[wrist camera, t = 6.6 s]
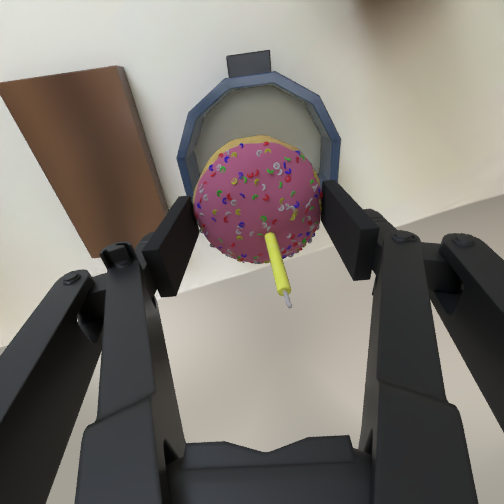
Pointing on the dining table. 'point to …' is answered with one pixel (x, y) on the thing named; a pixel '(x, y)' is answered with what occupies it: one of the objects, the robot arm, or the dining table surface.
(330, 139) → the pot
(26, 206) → the dining table surface
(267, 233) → the cupcake
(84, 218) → the cutting board
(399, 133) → the dining table surface
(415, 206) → the dining table surface
